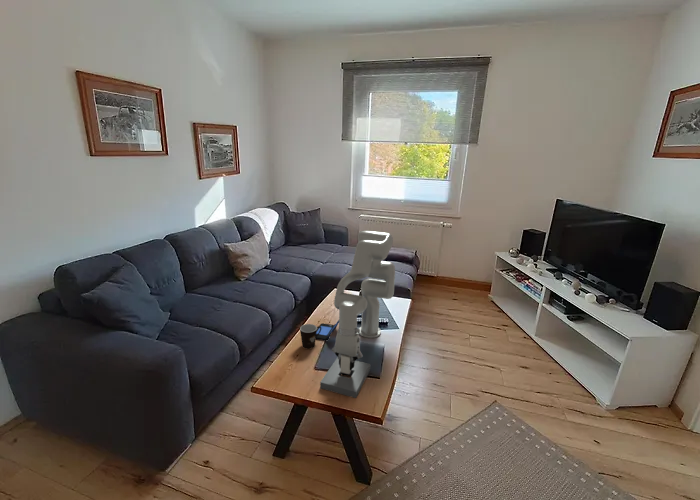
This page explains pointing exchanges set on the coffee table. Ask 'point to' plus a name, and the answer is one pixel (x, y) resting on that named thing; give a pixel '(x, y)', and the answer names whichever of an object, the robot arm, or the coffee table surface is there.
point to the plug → (345, 364)
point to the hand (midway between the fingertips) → (346, 366)
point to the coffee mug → (309, 335)
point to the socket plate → (345, 379)
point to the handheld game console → (325, 331)
